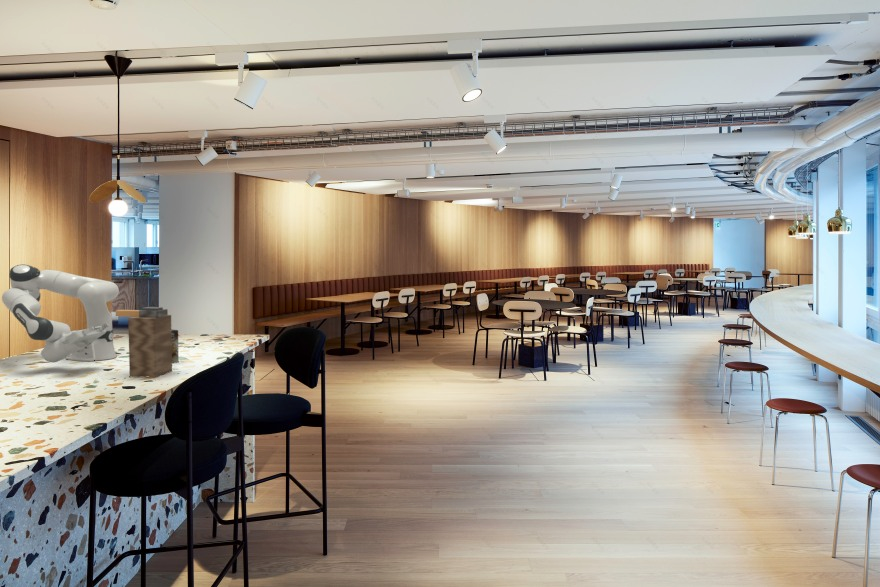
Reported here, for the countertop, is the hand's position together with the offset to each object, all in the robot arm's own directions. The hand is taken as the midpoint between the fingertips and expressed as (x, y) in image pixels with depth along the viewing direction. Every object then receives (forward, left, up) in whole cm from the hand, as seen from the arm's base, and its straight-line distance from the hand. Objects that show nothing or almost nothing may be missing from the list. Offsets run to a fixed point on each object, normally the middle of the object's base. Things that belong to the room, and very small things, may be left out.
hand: (100, 326), depth 271 cm
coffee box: (+17, +25, -21) cm, 37 cm away
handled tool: (+17, 0, +5) cm, 18 cm away
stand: (+23, 0, -21) cm, 31 cm away
